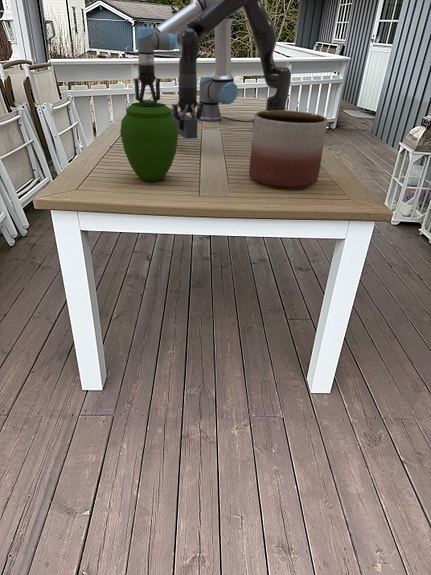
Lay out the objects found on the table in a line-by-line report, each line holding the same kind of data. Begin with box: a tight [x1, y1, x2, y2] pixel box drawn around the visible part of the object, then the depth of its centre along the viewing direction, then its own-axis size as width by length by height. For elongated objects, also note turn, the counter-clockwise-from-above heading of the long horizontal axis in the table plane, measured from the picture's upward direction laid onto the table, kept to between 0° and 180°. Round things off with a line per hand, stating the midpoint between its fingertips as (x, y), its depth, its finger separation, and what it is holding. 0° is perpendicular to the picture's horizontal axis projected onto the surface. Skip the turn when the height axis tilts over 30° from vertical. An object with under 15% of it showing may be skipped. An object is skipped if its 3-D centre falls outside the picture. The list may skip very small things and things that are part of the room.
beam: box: [143, 99, 198, 140], centre depth 193 cm, size 56×5×7 cm, turn 28°
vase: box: [119, 101, 179, 182], centre depth 140 cm, size 20×20×24 cm
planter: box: [248, 109, 329, 190], centre depth 146 cm, size 25×25×22 cm
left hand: (148, 115), depth 212 cm, fingers closed on beam, 5 cm apart
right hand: (187, 129), depth 176 cm, fingers closed on beam, 5 cm apart
